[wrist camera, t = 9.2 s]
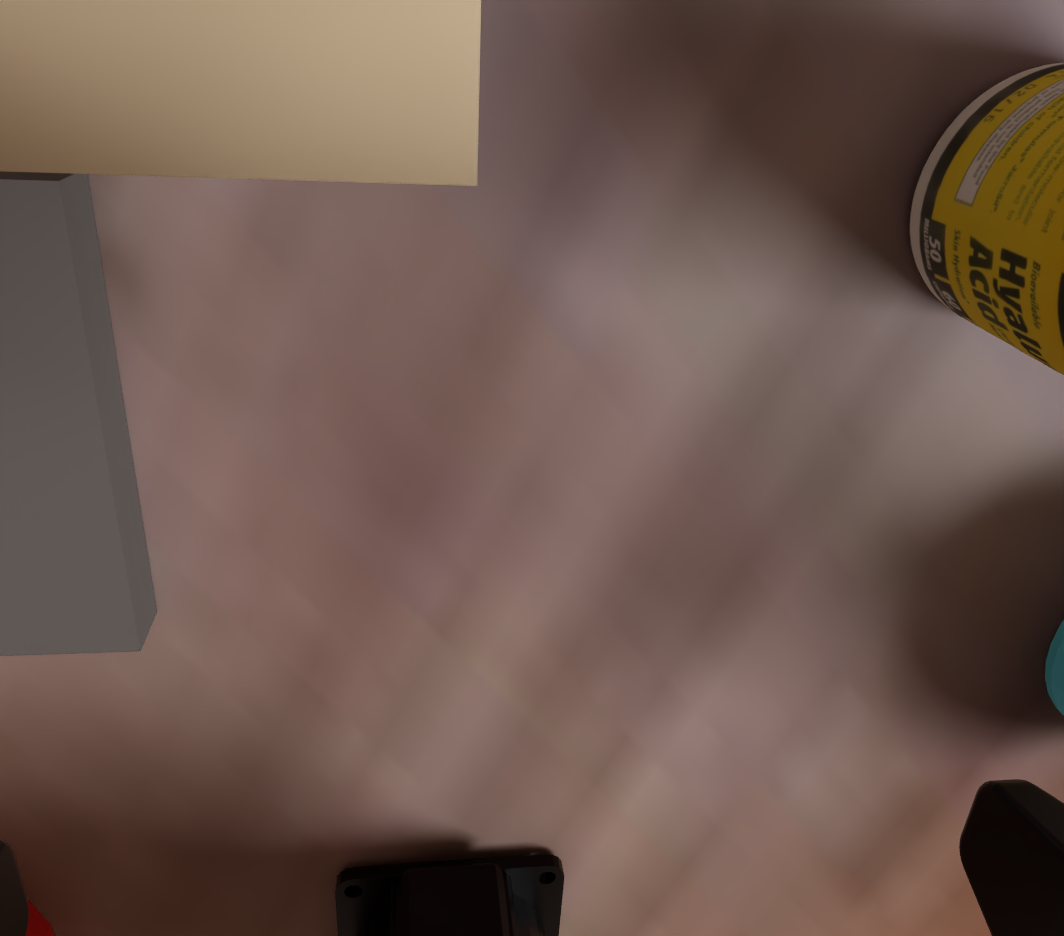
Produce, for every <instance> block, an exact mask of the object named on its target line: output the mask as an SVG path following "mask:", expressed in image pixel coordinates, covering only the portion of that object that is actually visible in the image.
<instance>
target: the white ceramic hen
mask: <svg viewBox="0 0 1064 936" xmlns="http://www.w3.org/2000/svg"><path fill="white" fill-rule="evenodd" d="M27 900H28V899H27ZM28 906H29V921H28V928H27V933H26V936H54V933H53V930H52V928H51V925H50V924H49V923H48V922H47V920H46V919H45V918H44V917H43V916H42V915H41V914H40V913H39V911H38V910H37V909H36V908H35V907H34V906H33V905H32V904H31V903H30V901H29V900H28Z"/></svg>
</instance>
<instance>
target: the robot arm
mask: <svg viewBox="0 0 1064 936" xmlns="http://www.w3.org/2000/svg"><path fill="white" fill-rule="evenodd" d="M959 848H960V856H961V861H962V864H963V867H964V870H965V872H966V875H967V877H968V879H969V882H970V884H971V887H972V889H973V891H974V894H975V896H976V899H977V901H978V903H979V906H980V908H981V911H982V913H983V915H984V918H985V920H986V923H987V925H988V928H989V930H990V932H991V935H992V936H1064V803H1062V802H1061V801H1059V800H1058V799H1056V798H1055V797H1053V796H1051V795H1050V794H1048V793H1047V792H1045V791H1044V790H1042V789H1040V788H1039V787H1037V786H1036V785H1034V784H1032V783H1030V782H1028V781H1025V780H1019V779H1014V780H997V781H988V782H985V783H984V784H983V785H981V786H980V787H979V789H978V791H977V793H976V796H975V799H974V801H973V804H972V807H971V809H970V812H969V815H968V818H967V820H966V823H965V826H964V829H963V831H962V834H961V838H960V846H959ZM563 884H564V873H563V868H562V862H561V860H560V859H559V858H558V857H556V856H554V855H548V854H544V855H529V856H514V857H499V858H484V859H469V860H454V861H439V862H424V863H409V864H394V865H379V866H364V867H352V868H347V869H345V870H343V871H341V872H340V874H339V875H338V876H337V880H336V891H335V895H336V911H337V926H338V936H559V925H560V915H561V905H562V894H563ZM352 885H356V886H352ZM28 921H29V906H28V900H27V897H26V893H25V890H24V886H23V882H22V879H21V875H20V872H19V868H18V865H17V861H16V858H15V854H14V851H13V849H12V847H11V845H10V844H9V843H8V842H6V841H5V840H0V936H26V933H27V928H28Z"/></svg>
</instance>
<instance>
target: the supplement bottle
mask: <svg viewBox="0 0 1064 936" xmlns="http://www.w3.org/2000/svg"><path fill="white" fill-rule="evenodd" d="M910 239H911V247H912V252H913V256H914V259H915V262H916V265H917V268H918V270H919V272H920V274H921V276H922V278H923V280H924V282H925V283H926V285H927V286H928V288H929V289H930V291H931V292H932V293H933V294H934V295H935V297H936V298H937V299H939V300H940V301H941V302H942V303H943V304H944V305H945V306H946V307H948V308H949V309H950V310H952V311H953V312H955V313H956V314H958V315H959V316H961V317H963V318H964V319H966V320H968V321H970V322H971V323H973V324H975V325H976V326H978V327H980V328H982V329H984V330H985V331H987V332H989V333H991V334H992V335H994V336H996V337H998V338H999V339H1001V340H1003V341H1005V342H1006V343H1008V344H1010V345H1012V346H1014V347H1015V348H1017V349H1019V350H1020V351H1022V352H1024V353H1025V354H1027V355H1029V356H1031V357H1032V358H1034V359H1036V360H1038V361H1040V362H1042V363H1043V364H1045V365H1047V366H1048V367H1050V368H1052V369H1054V370H1055V371H1057V372H1059V373H1061V374H1063V375H1064V63H1055V64H1049V65H1043V66H1039V67H1036V68H1032V69H1029V70H1026V71H1023V72H1020V73H1018V74H1016V75H1013V76H1011V77H1009V78H1007V79H1005V80H1004V81H1002V82H1000V83H998V84H996V85H995V86H993V87H992V88H990V89H989V90H987V91H986V92H984V93H983V94H982V95H980V96H979V97H978V98H976V99H975V100H974V101H973V102H972V103H970V104H969V105H968V106H967V107H966V108H965V109H964V110H963V111H962V112H961V113H960V114H959V115H958V116H957V118H956V119H955V120H954V121H953V122H952V123H951V125H950V126H949V127H948V128H947V130H946V131H945V132H944V134H943V135H942V137H941V138H940V139H939V141H938V142H937V144H936V146H935V147H934V149H933V151H932V152H931V154H930V156H929V158H928V160H927V162H926V164H925V166H924V168H923V170H922V173H921V175H920V178H919V181H918V183H917V186H916V190H915V193H914V197H913V202H912V208H911V215H910Z"/></svg>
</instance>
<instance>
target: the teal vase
mask: <svg viewBox="0 0 1064 936" xmlns="http://www.w3.org/2000/svg"><path fill="white" fill-rule="evenodd" d="M1045 682H1046V686H1047V691H1048V695H1049V696H1050V698H1051V700H1052V702H1053V704H1054V705H1055V707H1056V708H1057V709H1058V710H1059V711H1060V712H1061V713H1062V714H1063V715H1064V620H1063V621H1062V623H1061V624H1060V626H1059V628H1058V630H1057V632H1056V634H1055V636H1054V638H1053V640H1052V642H1051V645H1050V648H1049V652H1048V655H1047V659H1046V667H1045Z"/></svg>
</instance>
